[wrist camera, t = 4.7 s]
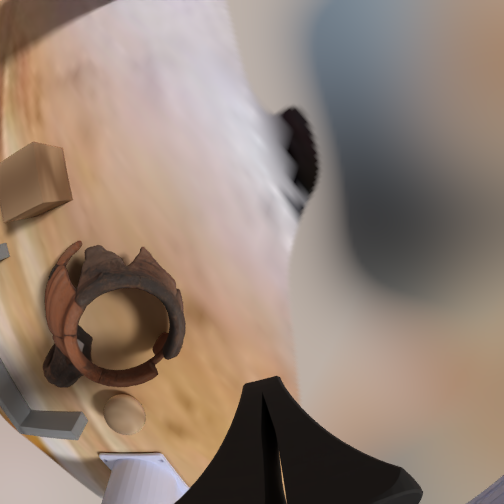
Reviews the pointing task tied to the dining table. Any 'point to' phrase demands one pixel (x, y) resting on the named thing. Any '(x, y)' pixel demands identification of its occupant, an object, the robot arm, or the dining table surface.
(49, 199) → the walnut block
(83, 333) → the pottery mug
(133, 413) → the cork ball
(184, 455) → the dining table surface
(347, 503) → the robot arm
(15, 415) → the corral
